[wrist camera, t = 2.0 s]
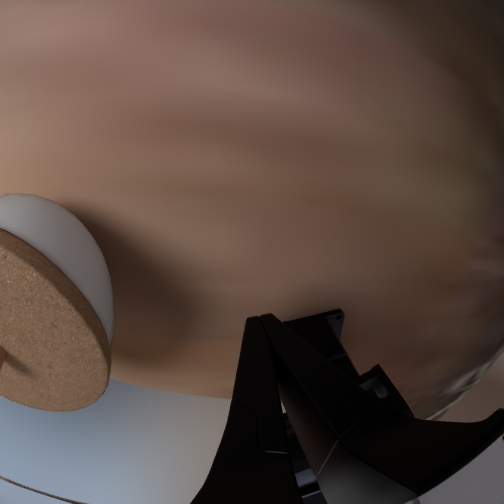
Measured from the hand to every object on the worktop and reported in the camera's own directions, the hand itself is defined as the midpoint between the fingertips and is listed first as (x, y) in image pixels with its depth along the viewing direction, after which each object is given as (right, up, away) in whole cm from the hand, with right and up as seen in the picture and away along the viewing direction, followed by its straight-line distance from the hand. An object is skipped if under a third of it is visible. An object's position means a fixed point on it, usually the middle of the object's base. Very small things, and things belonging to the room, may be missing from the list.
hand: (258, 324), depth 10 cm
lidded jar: (-13, +2, +5) cm, 14 cm away
